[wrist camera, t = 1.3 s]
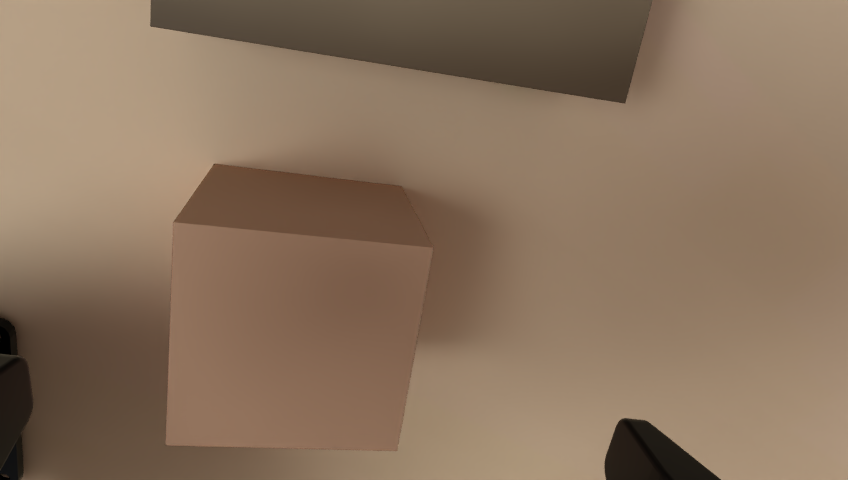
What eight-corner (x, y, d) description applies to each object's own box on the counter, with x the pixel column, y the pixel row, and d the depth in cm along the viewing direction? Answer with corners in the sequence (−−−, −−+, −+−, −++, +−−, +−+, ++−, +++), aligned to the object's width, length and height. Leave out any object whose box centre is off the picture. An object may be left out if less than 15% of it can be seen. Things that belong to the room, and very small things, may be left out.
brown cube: (376, 343, 22) (397, 450, 17) (205, 332, 21) (165, 445, 15) (401, 185, 20) (433, 247, 15) (214, 163, 19) (173, 222, 13)
